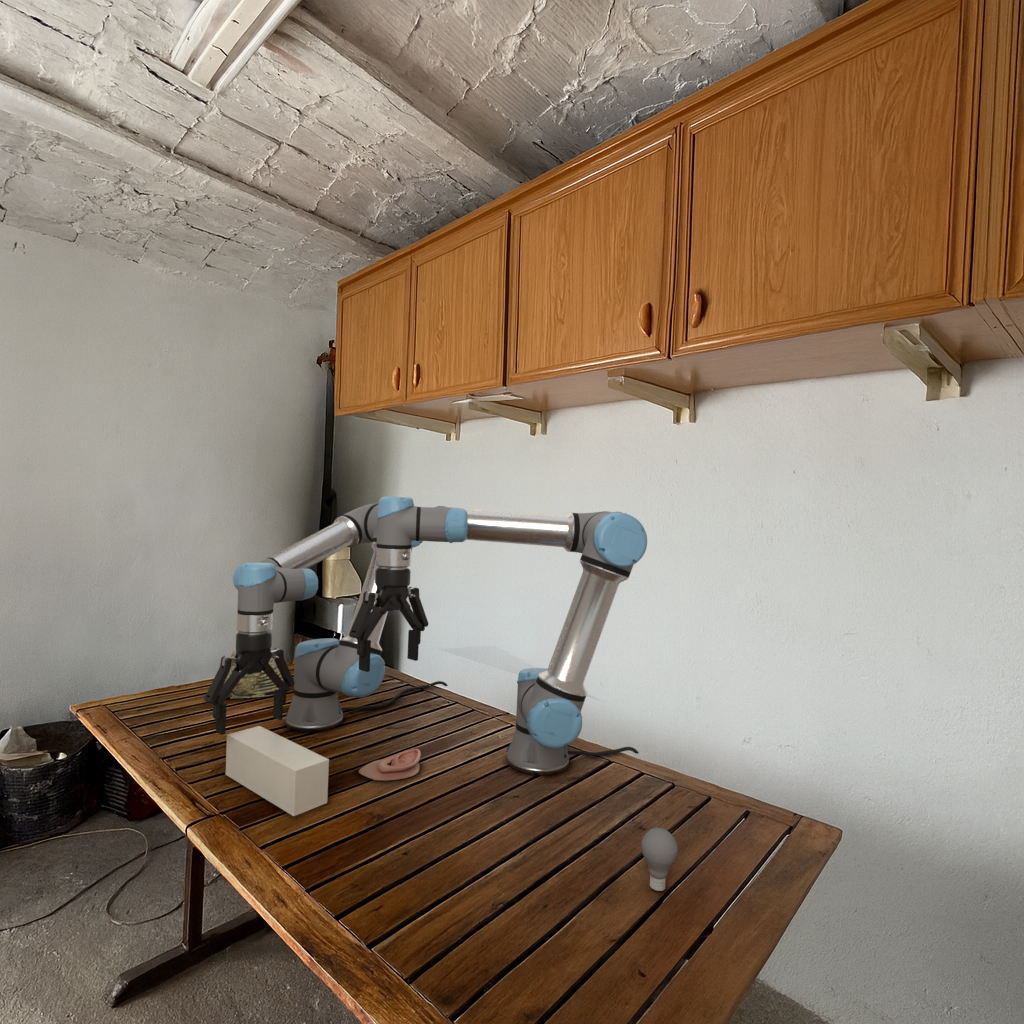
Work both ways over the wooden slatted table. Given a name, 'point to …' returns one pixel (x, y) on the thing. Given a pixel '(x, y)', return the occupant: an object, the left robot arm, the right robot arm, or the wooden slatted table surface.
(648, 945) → the wooden slatted table surface
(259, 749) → the box
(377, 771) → the anatomical model
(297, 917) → the wooden slatted table surface
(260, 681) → the fossil
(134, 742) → the wooden slatted table surface
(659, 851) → the light bulb
